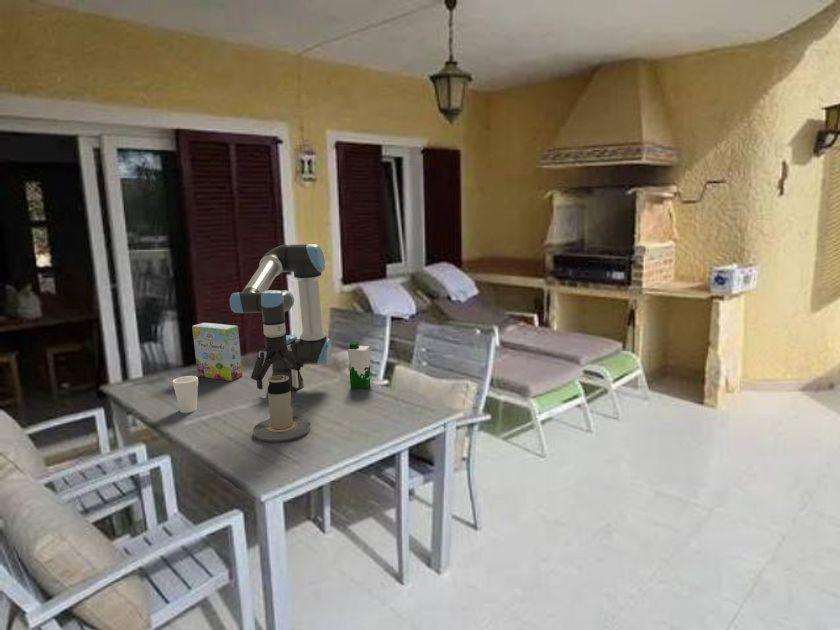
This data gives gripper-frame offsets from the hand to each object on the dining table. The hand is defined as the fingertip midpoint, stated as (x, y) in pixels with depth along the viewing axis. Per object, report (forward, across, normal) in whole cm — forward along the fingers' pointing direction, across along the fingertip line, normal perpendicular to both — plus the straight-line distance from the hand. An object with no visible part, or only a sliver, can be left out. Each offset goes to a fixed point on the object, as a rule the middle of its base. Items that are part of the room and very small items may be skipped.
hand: (279, 392), depth 202 cm
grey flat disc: (+15, -1, 0) cm, 15 cm away
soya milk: (+16, +52, +16) cm, 57 cm away
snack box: (+16, +18, +82) cm, 85 cm away
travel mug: (+13, 0, 0) cm, 13 cm away
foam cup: (+16, -13, +48) cm, 52 cm away
